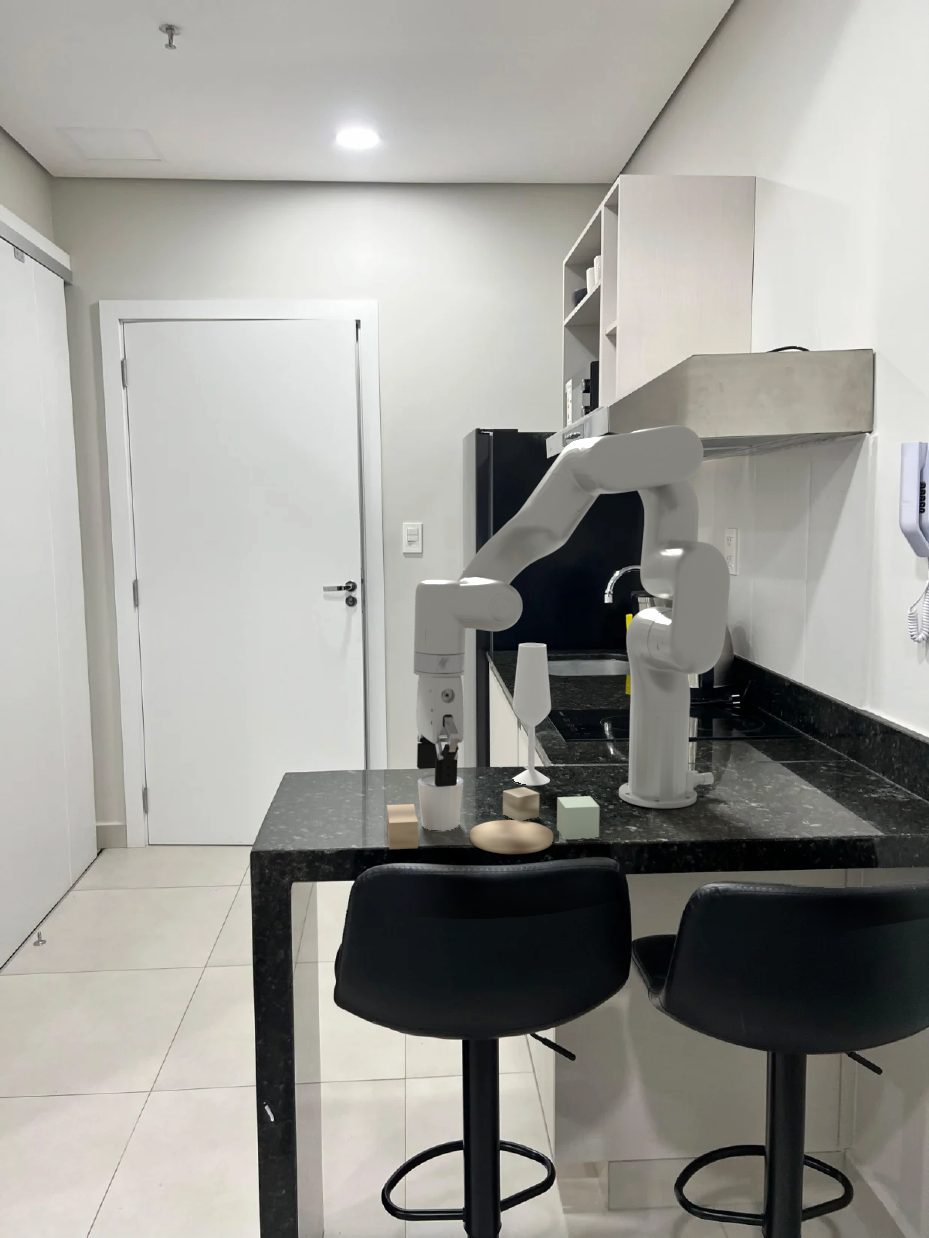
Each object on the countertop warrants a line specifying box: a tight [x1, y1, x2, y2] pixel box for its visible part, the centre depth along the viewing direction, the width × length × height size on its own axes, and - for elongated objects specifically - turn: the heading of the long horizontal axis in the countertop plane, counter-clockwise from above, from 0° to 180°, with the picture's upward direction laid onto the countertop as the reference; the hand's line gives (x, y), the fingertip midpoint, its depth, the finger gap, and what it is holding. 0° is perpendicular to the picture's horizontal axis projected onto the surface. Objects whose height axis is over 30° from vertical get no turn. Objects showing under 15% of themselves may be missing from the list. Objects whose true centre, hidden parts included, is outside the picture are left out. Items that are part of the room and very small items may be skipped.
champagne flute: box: [512, 642, 552, 786], centre depth 164 cm, size 7×7×24 cm
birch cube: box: [502, 786, 540, 821], centre depth 146 cm, size 4×4×4 cm
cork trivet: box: [469, 819, 554, 855], centre depth 136 cm, size 12×12×1 cm
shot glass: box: [417, 774, 464, 831], centre depth 142 cm, size 7×7×7 cm
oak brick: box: [386, 803, 419, 850], centre depth 136 cm, size 8×4×4 cm, turn 7°
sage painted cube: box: [556, 795, 600, 840], centre depth 138 cm, size 5×5×5 cm
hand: (436, 776), depth 141 cm, fingers open, 9 cm apart
